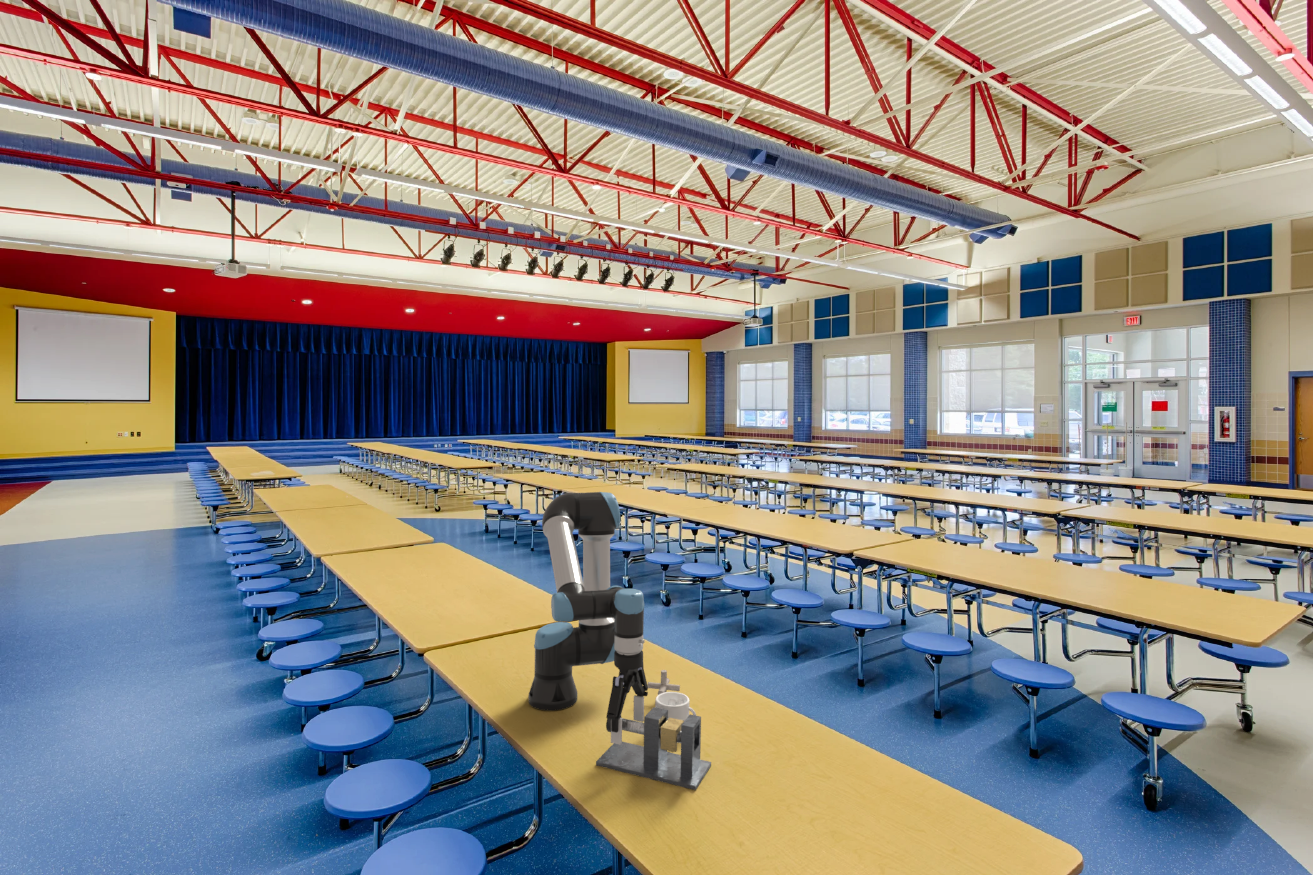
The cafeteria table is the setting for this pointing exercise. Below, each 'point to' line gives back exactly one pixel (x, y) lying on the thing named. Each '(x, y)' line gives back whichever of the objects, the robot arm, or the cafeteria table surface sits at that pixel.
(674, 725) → the spacer
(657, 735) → the bearing block
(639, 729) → the shaft
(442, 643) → the cafeteria table surface
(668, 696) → the mug
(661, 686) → the pipe connector
